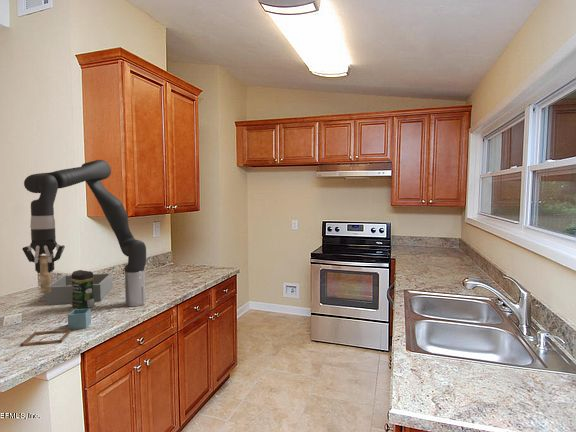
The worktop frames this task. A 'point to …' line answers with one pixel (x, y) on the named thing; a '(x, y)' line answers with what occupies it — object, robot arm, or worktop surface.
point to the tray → (26, 342)
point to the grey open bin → (64, 292)
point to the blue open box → (79, 319)
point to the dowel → (44, 275)
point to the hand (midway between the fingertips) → (45, 271)
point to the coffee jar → (82, 289)
